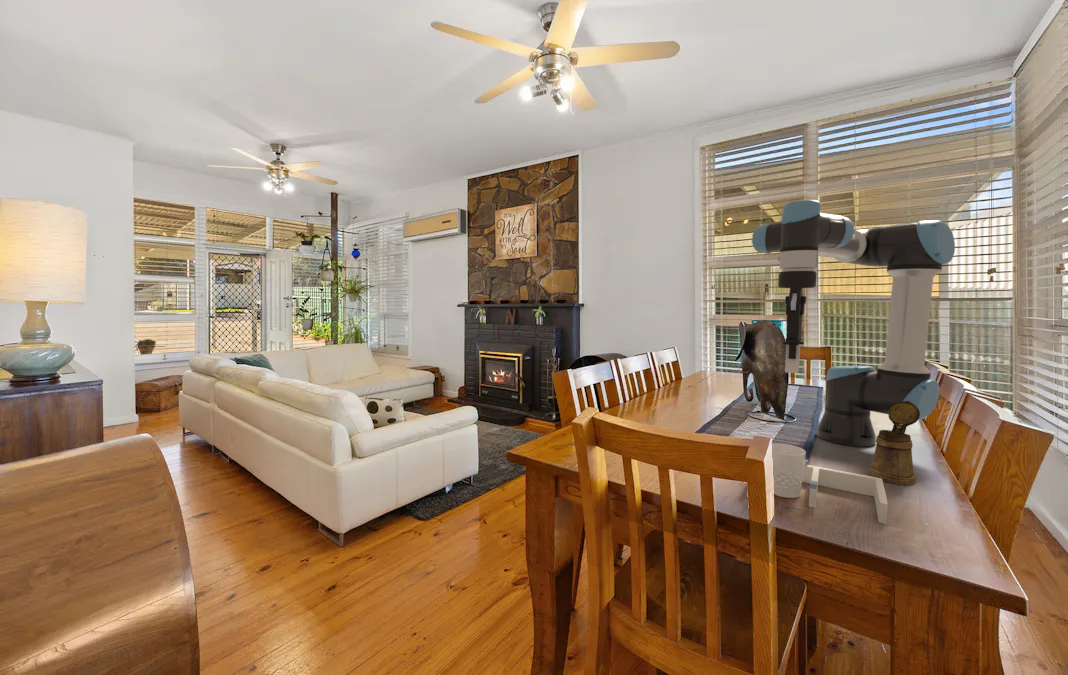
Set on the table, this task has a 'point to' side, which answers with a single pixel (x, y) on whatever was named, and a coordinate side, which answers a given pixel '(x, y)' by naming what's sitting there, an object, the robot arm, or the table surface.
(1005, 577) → the table surface
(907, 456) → the wooden mug
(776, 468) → the white cup
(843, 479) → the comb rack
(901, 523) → the table surface
